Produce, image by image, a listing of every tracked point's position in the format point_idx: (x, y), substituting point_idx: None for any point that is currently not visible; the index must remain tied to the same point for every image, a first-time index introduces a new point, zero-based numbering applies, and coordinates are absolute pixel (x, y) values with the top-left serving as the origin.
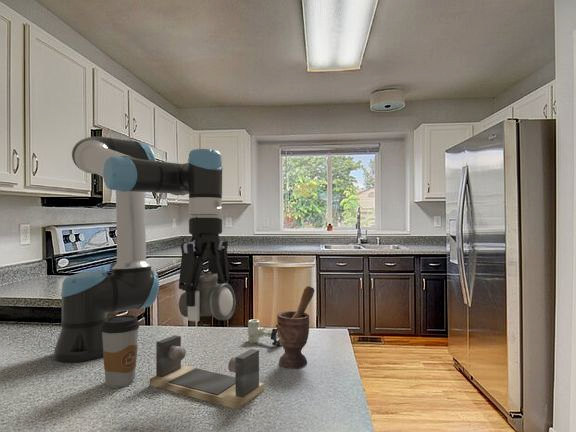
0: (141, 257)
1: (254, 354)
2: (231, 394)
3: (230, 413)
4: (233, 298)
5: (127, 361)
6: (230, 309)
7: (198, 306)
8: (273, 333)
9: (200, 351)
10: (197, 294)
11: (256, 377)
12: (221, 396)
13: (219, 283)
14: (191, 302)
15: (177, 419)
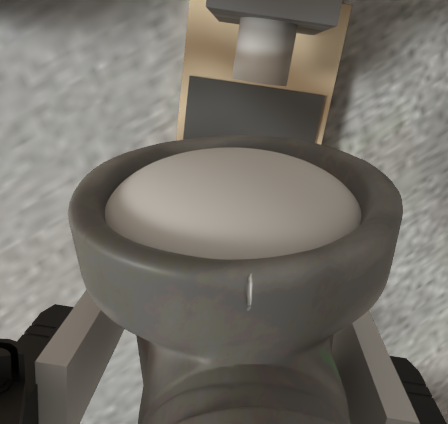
0: None
1: None
2: (307, 53)
3: (375, 18)
4: (104, 186)
5: None
6: (210, 148)
7: (364, 331)
8: None
9: (9, 335)
10: (404, 401)
11: None
12: (329, 78)
13: (27, 408)
14: (420, 381)
15: (438, 148)
